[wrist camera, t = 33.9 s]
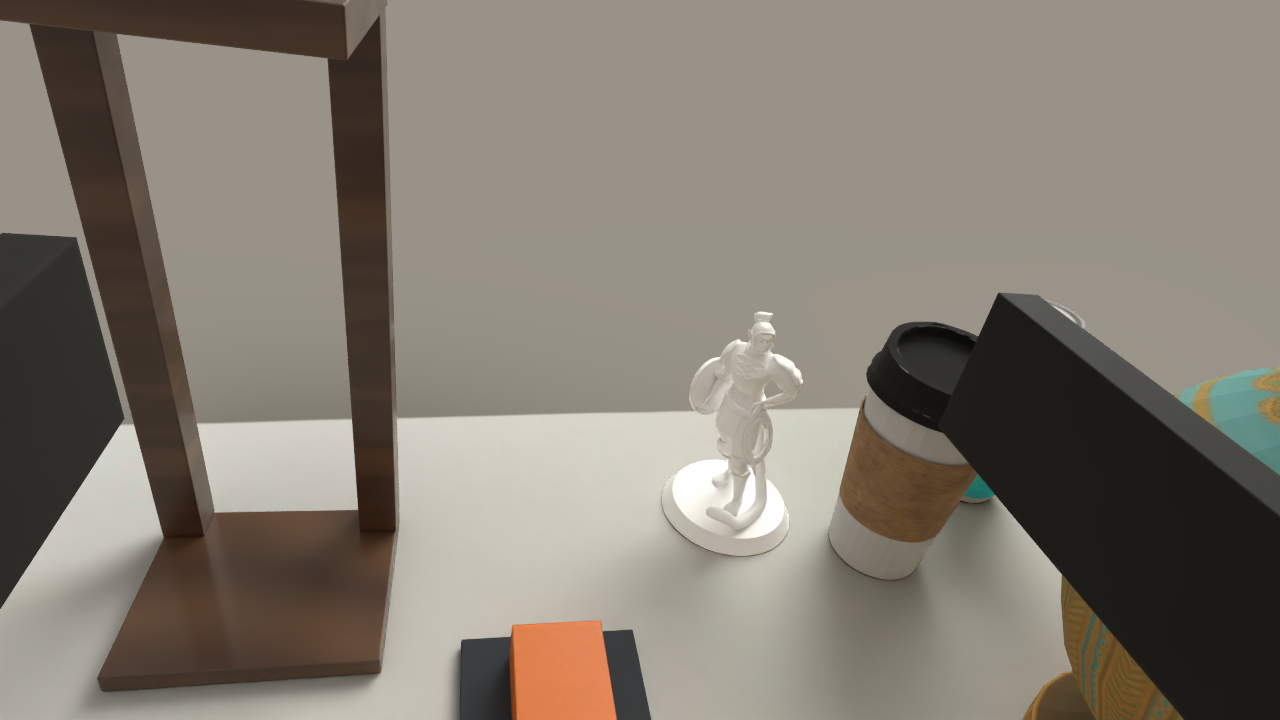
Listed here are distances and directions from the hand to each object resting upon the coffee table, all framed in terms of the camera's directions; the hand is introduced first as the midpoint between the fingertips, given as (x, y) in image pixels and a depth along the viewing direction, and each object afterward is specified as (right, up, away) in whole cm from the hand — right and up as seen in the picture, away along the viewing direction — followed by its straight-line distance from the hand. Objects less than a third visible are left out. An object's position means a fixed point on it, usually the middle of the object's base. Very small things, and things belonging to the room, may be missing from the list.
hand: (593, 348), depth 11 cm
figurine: (+7, -10, +39) cm, 41 cm away
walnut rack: (-19, -12, +28) cm, 36 cm away
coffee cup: (+16, -13, +38) cm, 43 cm away
